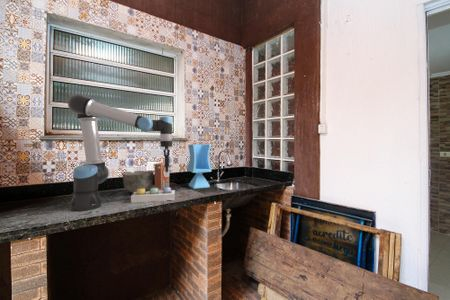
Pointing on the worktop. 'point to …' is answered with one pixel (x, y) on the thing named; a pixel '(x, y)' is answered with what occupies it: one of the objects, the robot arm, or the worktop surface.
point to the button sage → (153, 190)
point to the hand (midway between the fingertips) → (167, 176)
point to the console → (152, 197)
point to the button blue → (166, 190)
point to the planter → (199, 165)
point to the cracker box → (160, 177)
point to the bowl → (137, 180)
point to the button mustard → (141, 191)
